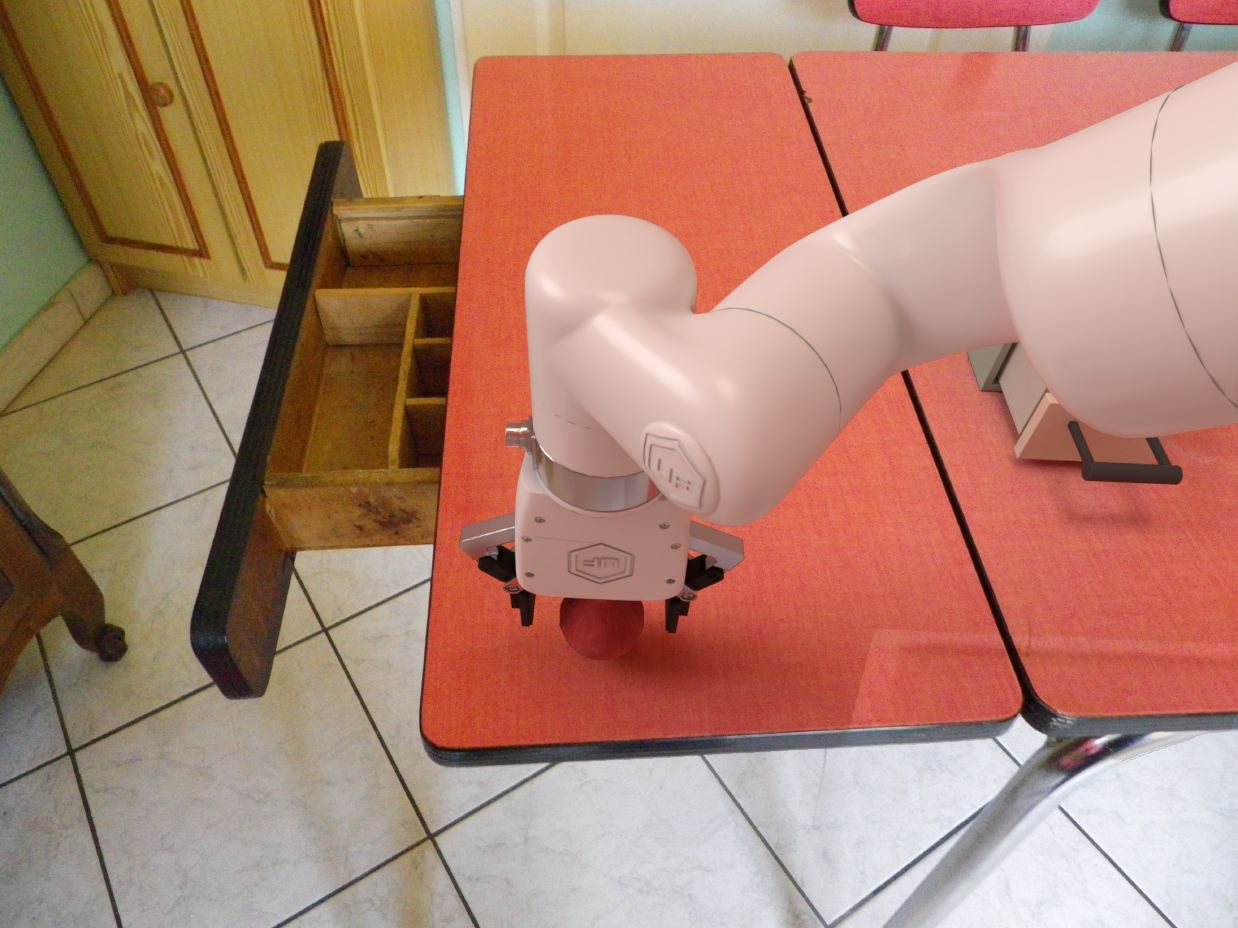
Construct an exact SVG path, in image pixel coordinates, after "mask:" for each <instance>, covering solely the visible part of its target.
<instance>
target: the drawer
mask: <svg viewBox="0 0 1238 928" xmlns="http://www.w3.org/2000/svg"><path fill="white" fill-rule="evenodd" d="M997 377H998V380H999V383H1000V385H1001V388H1002V391H1001V392H1002V393H1003V396H1004V398H1005V401H1006V404H1007V407H1008V409H1009V412H1010V415H1011V418H1012V421H1013V423H1014V426H1015V428H1016V431H1017V435H1019V436H1020V437H1019V439H1017V442H1016V444H1015V445H1014V447H1013V450H1014V453H1015V457H1016V458H1017V459H1019V460H1020V459H1021V460H1040V461H1041V460H1043V461H1046V460H1047V461H1067V462H1070V461H1071V462H1082V466H1081V477H1082V478H1081V479H1083V480H1084V482H1085V481H1086V482H1099V483H1101V482H1103V483H1122V484H1123V483H1127V484H1146V485H1147V484H1151V485H1171V486H1172V485H1173V486H1177V485H1179V484H1181V482H1182V481H1183V478H1184V471H1183V469H1182V467H1181V466H1180V465H1177V464H1173V463H1172V462H1171V460H1170V458H1169V457H1168V454H1167V453H1166V450H1165V448H1164V447H1165V446H1166V445H1167V443H1168V442H1169V441H1170V439H1171V438H1172V437H1173V435H1167V436H1159V437H1149V438H1123V437H1118V436H1114V435H1110V434H1106V433H1102V432H1099V431H1097V430H1095V429H1094V428H1092V427H1090V426H1088V425H1087V424H1085V423H1083V422H1081V421H1080V420H1078V419H1076V418H1075V417H1074V416H1072V415H1071V414H1070V413H1068V412H1067V411H1066V410H1065V409H1064V408H1063V407H1062V406H1061V405H1060V404H1059V403H1058V402H1057V400H1056V399H1055V398H1054V397H1053V395H1052V394H1051V393H1050V392H1049V390H1048V389H1047V387H1046V386H1045V385H1044V383H1043V382H1042V380H1041V379H1040V377H1039V376H1038V374H1037V373H1036V371H1035V370H1034V368H1033V366H1032V365H1031V363H1030V361H1029V360H1028V358H1027V355H1026V353H1025V351H1024V349H1023V347H1022V345H1021V343H1020V342H1014V343H1012V345H1011V347H1010V349H1009V351H1008V353H1007V355H1006V357H1005V359H1004V361H1003V363H1002V365H1001V367H1000V369H999V371H998V373H997ZM1154 460H1156V462H1157V464H1154V463H1153V461H1154Z"/></svg>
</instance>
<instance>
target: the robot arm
mask: <svg viewBox="0 0 1238 928" xmlns="http://www.w3.org/2000/svg"><path fill="white" fill-rule="evenodd" d="M526 265H527V266H526V269H525V273H524V305H525V308H524V309H525V321H526V323H525V324H526V338H527V353H528V369H529V385H530V387H529V388H530V399H531V413H532V415H528V419H521V421H520V422H519V421H517V422H516V421H507V422H506V425H505V434H504V435H505V439H504V440H505V447H506V448H514V449H515V448H516V449H517V448H518V449H519V451H525V453H524V457H523V460H522V464H521V468H520V471H519V475H518V479H517V484H516V485H517V486H516V491H515V492H516V494H515V505H514V512H511V513H507V514H503V515H499V516H496V517H492V518H488V519H485V520H481V521H476V522H474V523H470V524H466V525H464V526H462V527H461V532H460V535H459V542H458V547H459V548H460V549H461V551H463V553H464V554H466V555H467V556H468V557H469V558H470V559H471V560H472V561H475V562H477V568H478V570H479V571H480V572H483V573H485V574H486V575H488V576H490V577H492V578H494V579H496V580H498V581H499V582H501V583H502V590H503V591H504V592H505V593H507V594H509V599H510V606H511V609H516V610H517V609H519V614H520V623H521V624H520V625H521V627H522V628H523V627H525V628H529V627H530V626H533V625H534V616H535V609H536V607H535V606H536V599H537V596H542V597H543V596H544V597H552V598H553V597H554V598H564V597H566V598H585V599H607V600H634V601H642V602H657V601H664V627H665V628H664V629H665V632H667V633H668V634H677V630H678V623H679V618H680V617H688V616H689V610H690V607H691V606H690V605H691V602H694V601H696V600H697V599H698V597H699V595H698V594H699V593H698V592H699V591H702V590H704V589H707V588H709V587H711V586H713V585H715V584H718V583H720V582H722V581H723V580H724V579H725V574H726V573H727V572H731V571H732V570H733V569H735V568H736V567H737V566H738V565H740V564H741V563H742V562H743V561H744V560H745V545H744V540H743V538H741V537H738V536H736V535H733V534H730V533H727V532H725V531H722V530H720V529H716V528H713V527H711V526H709V525H706V524H704V523H701V522H698V521H695V520H692V516H694V517H696V518H698V519H699V520H701V521H703V522H705V523H708V524H710V525H714V526H719V527H722V528H723V527H724V528H740V527H746V526H748V525H752V524H753V523H756V522H757V521H760V520H762V519H763V518H765V517H767V516H768V515H769V514H770V513H771V512H773V510H775V509H776V508H777V507H778V506H779V505H780V504H781V503H782V502H783V501H784V500H785V499H786V498H787V496H789V494H790V493H791V492H792V491H793V489H794V488H795V487H796V486H797V485H798V484H799V483H800V482H801V480H802V479H803V478H804V477H805V475H806V474H807V473H808V472H809V471H810V470H811V468H813V466H814V465H815V464H816V463H817V462H818V460H820V458H821V457H822V456H823V455H824V454H825V452H826V451H827V450H828V449H829V447H830V446H831V445H832V443H834V441H836V439H837V438H838V437H839V436H840V435H841V433H842V432H843V431H844V429H846V427H848V425H849V424H850V422H852V421H853V419H854V418H855V417H856V415H857V414H858V413H859V412H860V411H861V410H862V408H863V407H864V406H865V405H866V404H867V403H868V402H869V401H870V399H872V397H873V396H874V395H875V394H876V393H877V392H878V391H879V390H880V388H881V387H883V385H884V384H885V383H886V382H887V381H888V380H889V379H890V378H891V377H893V376H895V375H898V374H899V373H903V372H905V371H908V370H910V369H912V368H916V367H918V366H922V365H924V364H928V363H931V362H934V361H939V360H942V359H946V358H949V357H952V356H957V355H960V354H964V353H967V351H971V350H975V349H979V348H984V347H989V346H993V345H999V344H1007V343H1014V342H1020V343H1021V345H1022V347H1023V349H1024V351H1025V353H1026V355H1027V358H1028V360H1029V361H1030V363H1031V365H1032V366H1033V368H1034V370H1035V371H1036V373H1037V374H1038V376H1039V377H1040V379H1041V380H1042V382H1043V383H1044V385H1045V386H1046V387H1047V389H1048V390H1049V392H1050V393H1051V394H1052V395H1053V397H1054V398H1055V399H1056V400H1057V402H1058V403H1059V404H1060V405H1061V406H1062V407H1063V408H1064V409H1065V410H1066V411H1067V412H1068V413H1070V414H1071V415H1072V416H1074V417H1075V418H1076V419H1078V420H1080V421H1081V422H1083V423H1085V424H1087V425H1088V426H1090V427H1092V428H1094V429H1095V430H1097V431H1099V432H1102V433H1106V434H1110V435H1114V436H1118V437H1123V438H1149V437H1159V436H1167V435H1172V436H1174V435H1180V434H1185V433H1191V432H1196V431H1203V430H1209V429H1215V428H1221V427H1227V426H1228V427H1229V426H1235V425H1238V60H1236V61H1234V62H1232V63H1230V64H1228V65H1225V66H1224V67H1221V68H1219V69H1217V70H1215V71H1213V72H1211V73H1208V74H1206V75H1204V76H1202V77H1200V78H1198V79H1195V80H1193V81H1191V82H1189V83H1187V84H1182V85H1180V86H1178V87H1175V88H1174V89H1170V90H1169V91H1166V92H1164V93H1162V94H1159V95H1158V96H1155V97H1154V98H1151V99H1149V100H1147V101H1144V102H1142V103H1140V104H1139V105H1135V106H1133V107H1131V108H1128V109H1126V110H1125V111H1122V112H1120V113H1118V114H1115V115H1113V116H1111V117H1109V118H1105V119H1104V120H1102V121H1099V122H1097V123H1094V124H1092V125H1090V126H1087V127H1085V128H1083V129H1081V130H1078V131H1076V132H1074V133H1072V134H1069V135H1066V136H1064V137H1062V138H1060V139H1058V140H1054V141H1053V142H1051V143H1048V144H1045V145H1041V146H1038V147H1031V148H1025V149H1018V150H1014V151H1011V152H1008V153H1005V154H1003V155H1000V156H996V157H993V158H989V159H984V160H980V161H974V162H971V163H967V164H963V165H960V166H957V167H953V168H950V169H947V170H945V171H941V172H939V173H936V174H934V175H931V176H929V177H927V178H924V179H921V180H919V181H917V182H915V183H912V184H910V185H908V186H906V187H904V188H902V189H899V190H897V191H895V192H893V193H891V194H889V195H887V196H885V197H883V198H881V199H878V200H876V201H874V202H872V203H870V204H868V205H866V206H864V207H862V208H860V209H858V210H855V211H853V212H851V213H850V214H847V215H845V216H843V217H841V218H839V219H837V220H835V221H833V222H831V223H829V224H826V225H825V226H822V227H821V228H818V229H817V230H815V231H813V232H811V233H809V234H808V235H805V236H804V237H802V238H800V239H798V240H797V241H795V242H794V243H792V244H790V245H788V246H787V247H786V248H784V249H782V250H781V251H780V252H778V253H777V254H775V256H773V257H772V258H771V259H769V260H768V261H767V262H765V263H763V265H761V266H760V267H759V268H758V269H757V270H755V271H754V272H753V273H752V274H751V275H749V276H748V277H747V278H746V279H745V280H743V281H742V282H741V283H740V284H739V285H737V286H736V287H735V288H734V289H733V290H732V291H731V292H729V294H727V296H725V297H724V298H723V299H722V300H720V301H719V302H718V303H717V304H716V305H714V307H712V308H711V309H710V310H709V311H707V312H703V313H696V309H697V301H698V299H697V298H698V285H699V283H698V275H697V270H696V267H695V264H694V260H693V259H692V257H691V254H690V252H689V251H688V249H687V248H686V247H685V246H684V245H683V243H682V242H681V241H680V240H679V239H678V238H677V237H676V236H675V235H674V234H673V233H671V232H670V231H668V230H666V229H665V228H663V227H662V226H660V225H658V224H655V223H653V222H650V221H648V220H646V219H642V218H639V217H635V216H629V215H624V214H613V213H612V214H594V215H588V216H584V217H580V218H577V219H574V220H570V221H568V222H566V223H564V224H561V225H559V226H557V227H555V228H554V229H553V230H551V231H549V232H548V233H547V234H546V235H545V236H544V237H543V238H541V240H540V241H539V242H538V243H537V245H536V246H535V248H534V249H533V251H532V252H531V255H530V257H529V259H528V262H527V264H526ZM509 543H514V545H513V546H511V547H510V548H508V547H506V546H504V545H506V544H509ZM689 550H690V551H693V552H696V553H698V554H699V555H698V556H696V557H694V555H692V554H691V553H690V552H689Z"/></svg>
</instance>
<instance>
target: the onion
mask: <svg viewBox="0 0 1238 928" xmlns="http://www.w3.org/2000/svg"><path fill="white" fill-rule="evenodd" d="M561 600H562V601H561V603H560V604H559V605H560V606H559V623H558V625H559V628H560V630H561V632H562V635H563V636H564V638H565V641H566V643H567V644H568V646H570V647H571V648H572V649H573V650H574V651H575V652H576V653H577V654H578V655H580V656H583V657H585V658H587V659H590V660H593V661H611V660H614V659H616V658H619V657H622V656H625V655H627V653H629V652H630V651H631V650H632V649H633V648H634V647H635V646H636V645H637V643H638V641H639V639H640V636H641V634H642V633H643V631H644V630H643V629H644V627H645V607H644V604H643V601H634V600H607V599H585V598H566V597H563V599H561Z"/></svg>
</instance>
